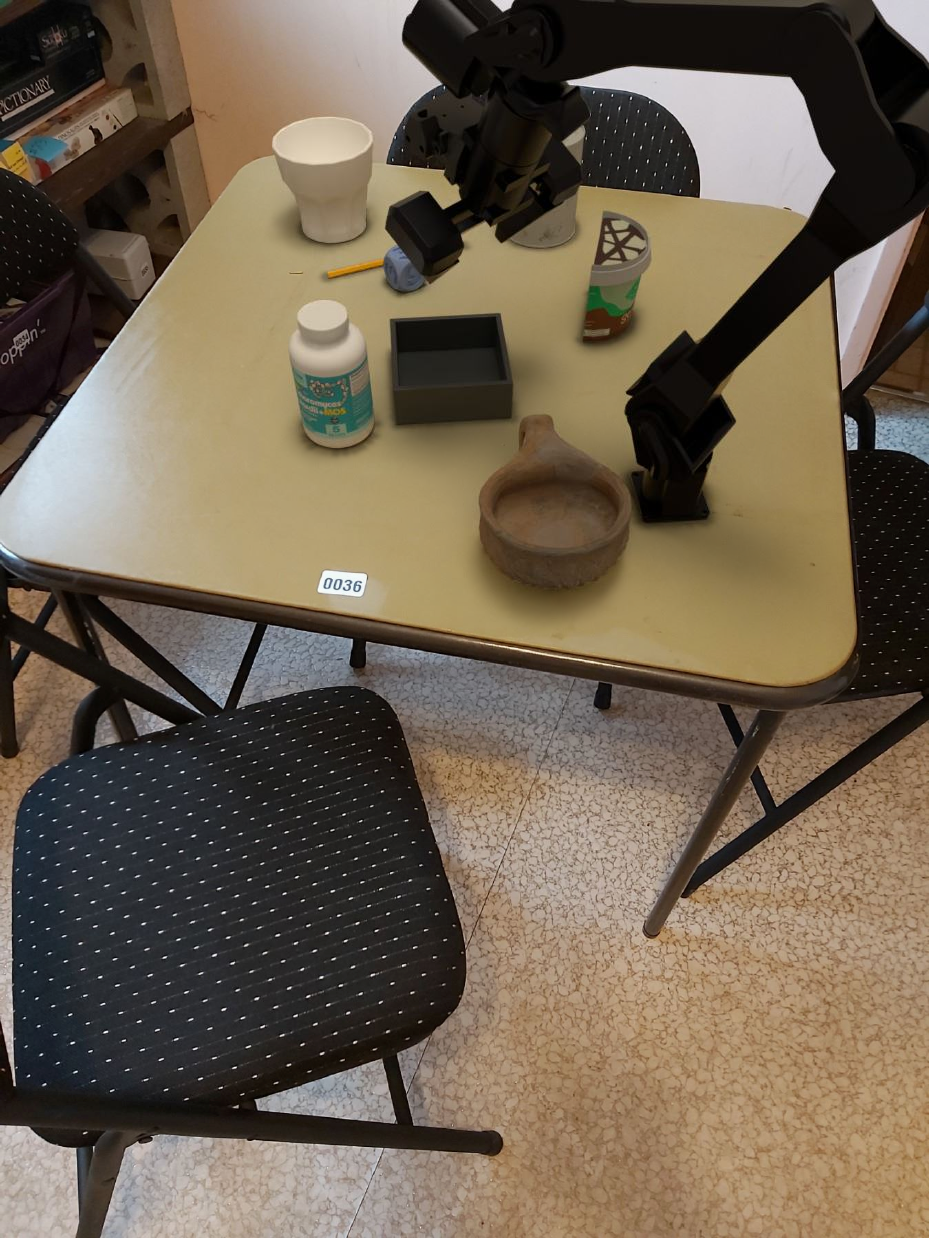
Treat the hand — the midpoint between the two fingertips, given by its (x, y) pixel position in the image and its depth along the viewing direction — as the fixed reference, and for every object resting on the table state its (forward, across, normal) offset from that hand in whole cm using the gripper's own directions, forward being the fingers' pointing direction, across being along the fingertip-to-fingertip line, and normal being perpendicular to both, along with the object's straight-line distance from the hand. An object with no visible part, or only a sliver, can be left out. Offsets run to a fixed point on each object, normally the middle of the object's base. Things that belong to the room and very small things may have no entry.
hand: (464, 259), depth 81 cm
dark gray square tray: (+12, +3, +6) cm, 14 cm away
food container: (+12, -19, +10) cm, 25 cm away
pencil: (+24, -8, -14) cm, 29 cm away
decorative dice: (+21, -6, -10) cm, 24 cm away
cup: (+29, -7, -25) cm, 39 cm away
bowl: (+2, +11, +26) cm, 28 cm away
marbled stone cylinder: (+22, -27, -8) cm, 35 cm away
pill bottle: (+13, +16, +4) cm, 21 cm away
